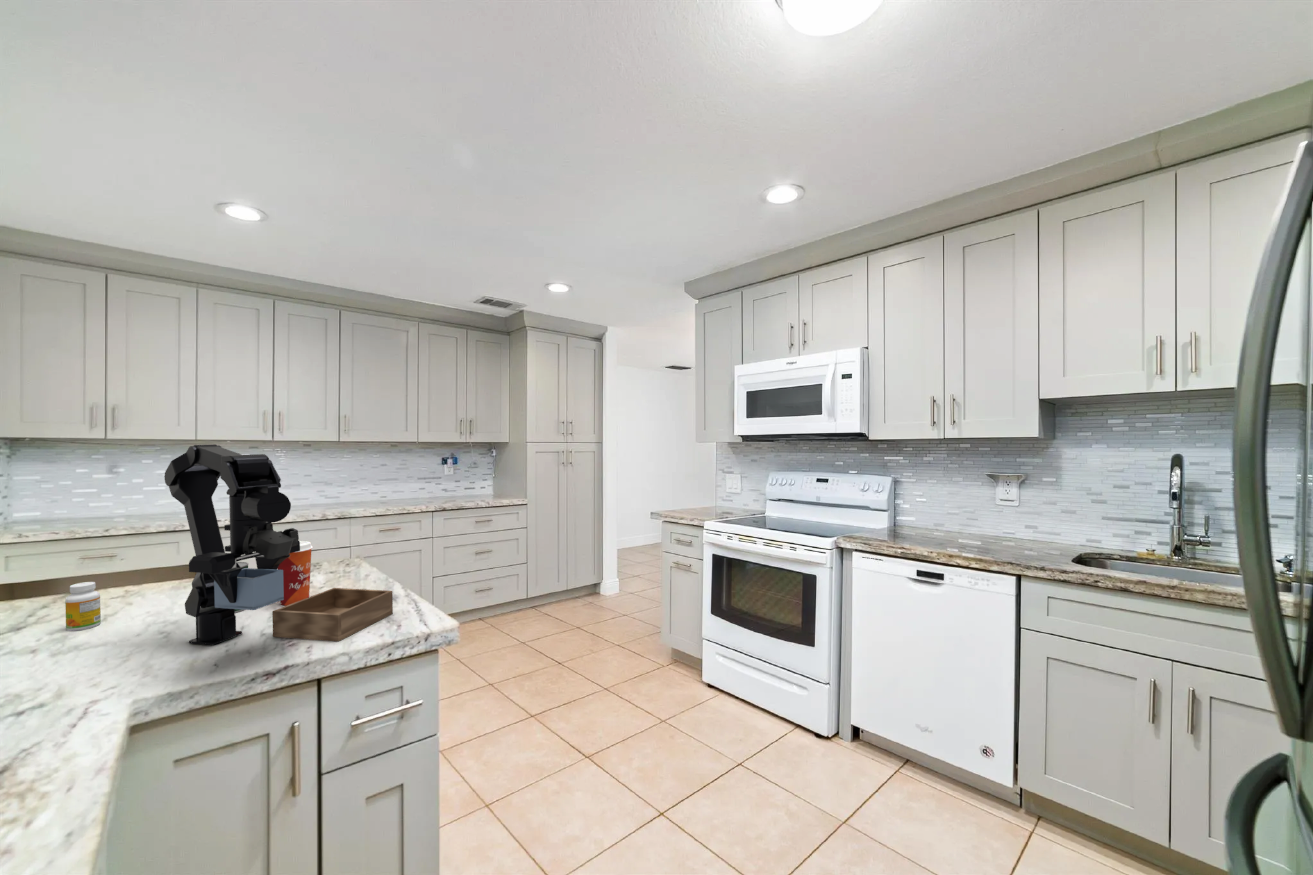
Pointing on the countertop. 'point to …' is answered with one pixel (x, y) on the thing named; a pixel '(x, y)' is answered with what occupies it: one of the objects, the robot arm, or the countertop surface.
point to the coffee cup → (297, 574)
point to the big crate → (332, 614)
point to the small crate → (253, 589)
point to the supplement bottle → (82, 607)
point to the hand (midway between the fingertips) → (249, 597)
